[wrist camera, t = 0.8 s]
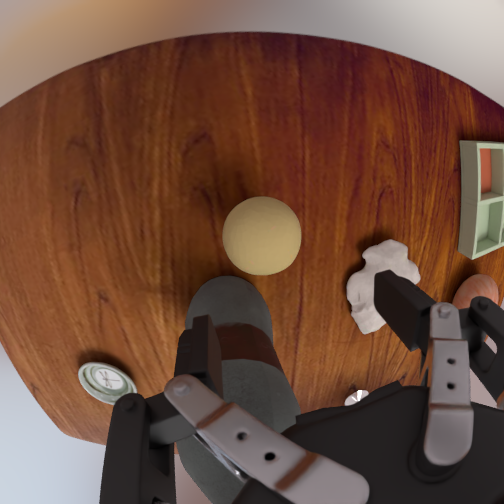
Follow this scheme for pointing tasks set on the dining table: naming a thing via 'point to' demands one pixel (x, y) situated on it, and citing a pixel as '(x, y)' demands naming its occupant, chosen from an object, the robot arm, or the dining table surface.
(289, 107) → the dining table surface
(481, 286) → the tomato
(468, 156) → the grid
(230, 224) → the light bulb
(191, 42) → the dining table surface
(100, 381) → the saucer
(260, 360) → the bottle
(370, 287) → the decorative stone
